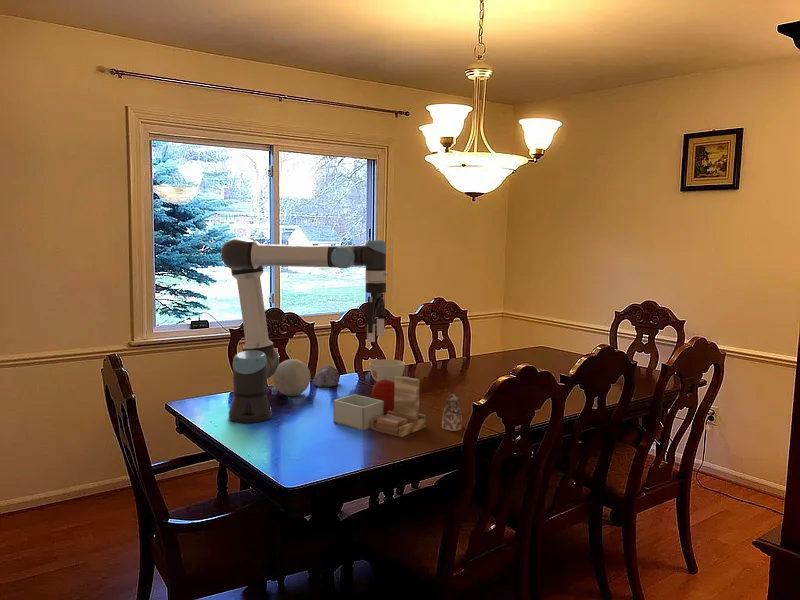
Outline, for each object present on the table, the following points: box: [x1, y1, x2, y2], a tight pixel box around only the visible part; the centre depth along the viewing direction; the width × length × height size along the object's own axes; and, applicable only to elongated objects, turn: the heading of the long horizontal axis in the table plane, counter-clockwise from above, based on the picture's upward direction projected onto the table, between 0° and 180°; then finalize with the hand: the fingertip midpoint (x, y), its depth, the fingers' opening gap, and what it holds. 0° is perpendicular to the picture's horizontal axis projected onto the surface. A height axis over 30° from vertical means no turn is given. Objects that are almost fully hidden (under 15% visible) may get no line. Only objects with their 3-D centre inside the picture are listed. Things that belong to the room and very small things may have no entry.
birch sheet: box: [393, 375, 420, 418], centre depth 217 cm, size 2×9×16 cm, turn 52°
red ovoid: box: [371, 377, 395, 415], centre depth 231 cm, size 10×10×14 cm
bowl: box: [368, 358, 406, 383], centre depth 274 cm, size 16×16×10 cm
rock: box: [312, 365, 340, 388], centre depth 273 cm, size 11×10×10 cm
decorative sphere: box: [272, 358, 311, 397], centre depth 255 cm, size 15×15×15 cm
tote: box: [332, 393, 384, 431], centre depth 219 cm, size 11×14×8 cm
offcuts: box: [376, 414, 409, 433], centre depth 212 cm, size 7×10×3 cm
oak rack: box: [370, 411, 427, 438], centre depth 214 cm, size 14×13×4 cm
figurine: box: [441, 391, 463, 432], centre depth 215 cm, size 7×7×12 cm
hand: (375, 338), depth 233 cm, fingers open, 13 cm apart
